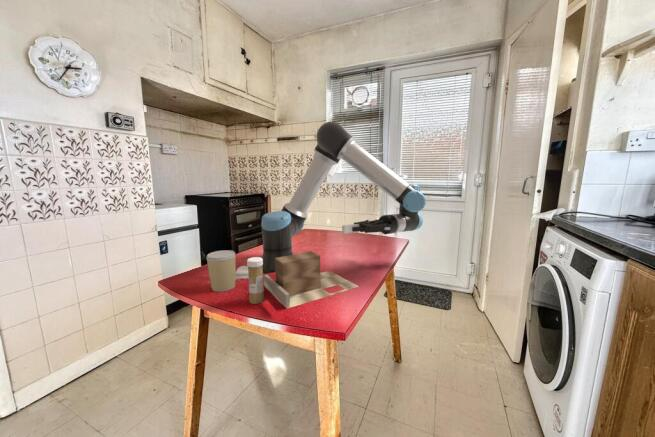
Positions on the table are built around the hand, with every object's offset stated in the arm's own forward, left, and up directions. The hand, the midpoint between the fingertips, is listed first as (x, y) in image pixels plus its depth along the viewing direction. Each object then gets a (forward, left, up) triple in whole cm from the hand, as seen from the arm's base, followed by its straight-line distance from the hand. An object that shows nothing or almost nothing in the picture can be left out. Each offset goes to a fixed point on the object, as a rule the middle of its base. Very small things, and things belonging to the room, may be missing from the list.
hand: (343, 229), depth 89 cm
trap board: (-7, -11, -19) cm, 23 cm away
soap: (-38, -10, -20) cm, 44 cm away
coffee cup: (-36, -21, -20) cm, 47 cm away
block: (-9, -15, -18) cm, 25 cm away
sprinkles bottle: (-18, -24, -20) cm, 36 cm away
